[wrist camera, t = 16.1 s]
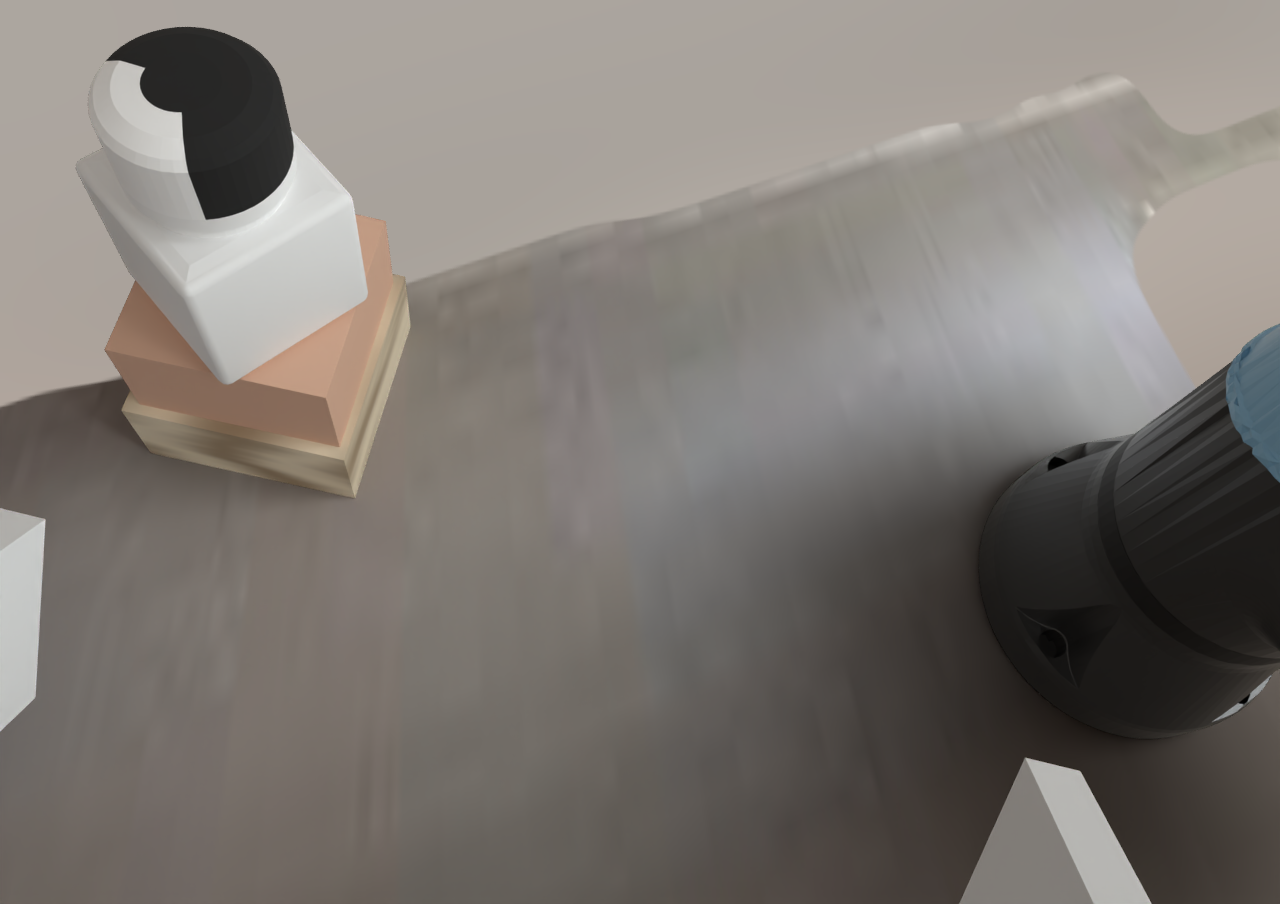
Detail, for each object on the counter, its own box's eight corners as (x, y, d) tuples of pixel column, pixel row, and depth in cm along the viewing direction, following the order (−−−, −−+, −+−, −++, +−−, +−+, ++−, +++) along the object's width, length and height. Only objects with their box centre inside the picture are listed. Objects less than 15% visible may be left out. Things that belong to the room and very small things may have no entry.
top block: (393, 282, 52) (385, 221, 47) (339, 447, 48) (325, 398, 44) (208, 240, 52) (182, 174, 47) (139, 404, 48) (104, 349, 43)
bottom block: (410, 328, 57) (404, 276, 52) (355, 500, 53) (344, 460, 48) (223, 285, 56) (200, 229, 52) (152, 455, 52) (121, 410, 48)
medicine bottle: (273, 189, 47) (214, -32, 37) (372, 299, 46) (341, 103, 35) (126, 271, 45) (16, 59, 34) (225, 391, 43) (143, 210, 32)
